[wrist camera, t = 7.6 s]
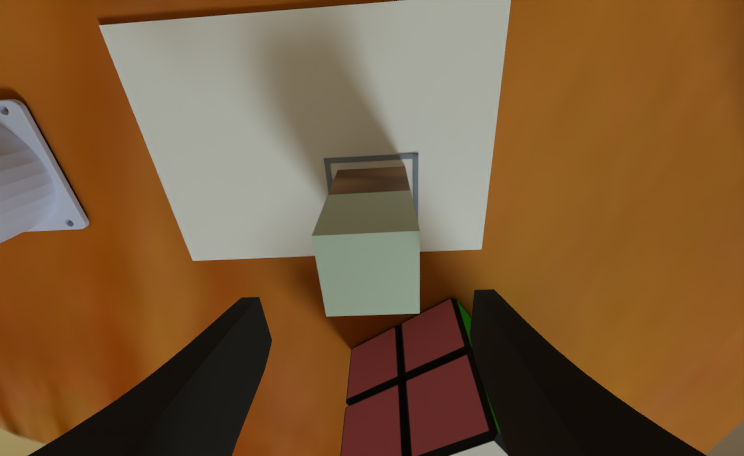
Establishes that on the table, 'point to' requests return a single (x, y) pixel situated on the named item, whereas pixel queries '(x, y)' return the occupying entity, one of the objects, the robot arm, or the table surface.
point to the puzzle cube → (420, 392)
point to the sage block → (368, 254)
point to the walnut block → (370, 180)
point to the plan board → (316, 115)
